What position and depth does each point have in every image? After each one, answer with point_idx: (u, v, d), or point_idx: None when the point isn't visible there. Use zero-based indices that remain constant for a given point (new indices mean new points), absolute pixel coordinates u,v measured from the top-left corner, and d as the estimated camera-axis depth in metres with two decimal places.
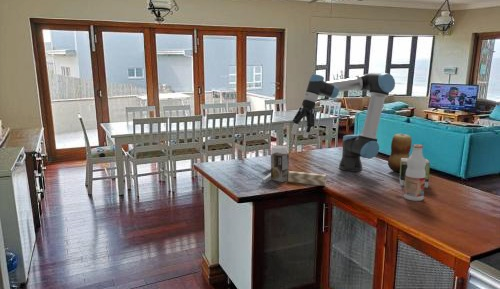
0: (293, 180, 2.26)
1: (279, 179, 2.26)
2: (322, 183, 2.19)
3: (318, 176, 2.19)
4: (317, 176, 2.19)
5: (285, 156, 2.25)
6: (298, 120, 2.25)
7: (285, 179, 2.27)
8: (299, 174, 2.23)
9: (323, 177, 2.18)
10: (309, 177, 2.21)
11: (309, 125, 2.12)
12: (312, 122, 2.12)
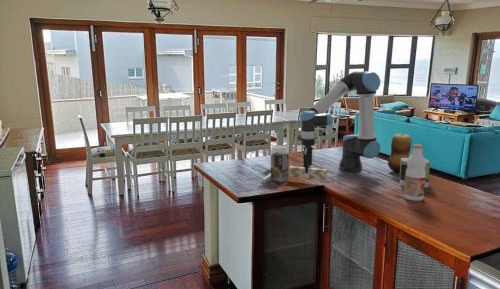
0: (294, 175, 2.25)
1: (279, 179, 2.26)
2: (323, 178, 2.19)
3: (319, 171, 2.19)
4: (318, 171, 2.19)
5: (285, 156, 2.25)
6: (308, 160, 2.23)
7: (285, 179, 2.27)
8: (300, 169, 2.23)
9: (324, 171, 2.18)
10: (310, 172, 2.21)
11: (305, 167, 2.20)
12: (305, 164, 2.17)
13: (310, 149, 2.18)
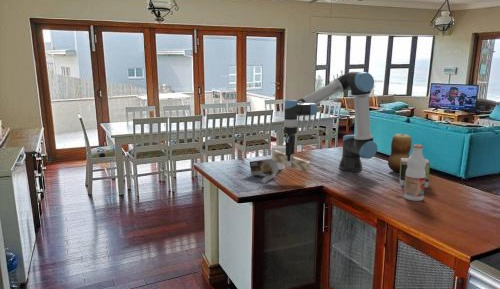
0: (277, 159, 2.27)
1: (270, 162, 2.30)
2: (304, 169, 2.22)
3: (302, 162, 2.21)
4: (301, 161, 2.22)
5: None
6: (291, 149, 2.26)
7: None
8: (284, 155, 2.25)
9: (306, 164, 2.21)
10: (293, 161, 2.23)
11: (287, 155, 2.22)
12: (287, 152, 2.20)
13: (292, 137, 2.21)
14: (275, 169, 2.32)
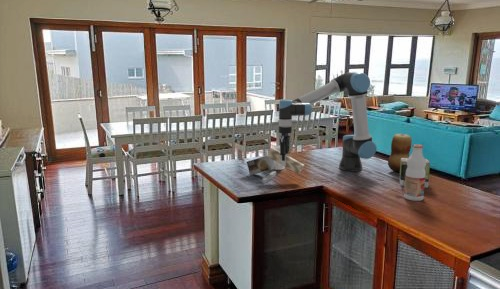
0: (272, 157, 2.28)
1: (266, 159, 2.31)
2: (297, 171, 2.23)
3: (296, 163, 2.23)
4: (295, 163, 2.23)
5: None
6: (285, 148, 2.27)
7: None
8: None
9: (301, 166, 2.22)
10: (288, 161, 2.24)
11: (281, 154, 2.23)
12: (282, 151, 2.21)
13: (287, 137, 2.22)
14: (272, 166, 2.32)
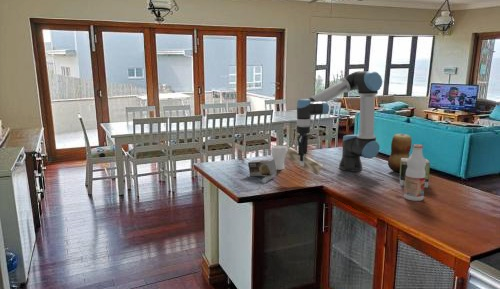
0: (290, 157, 2.24)
1: (268, 164, 2.30)
2: (316, 171, 2.19)
3: (315, 164, 2.19)
4: (314, 163, 2.19)
5: (251, 161, 2.39)
6: (303, 149, 2.23)
7: (270, 160, 2.32)
8: None
9: (319, 166, 2.18)
10: (306, 161, 2.21)
11: (300, 155, 2.19)
12: (300, 152, 2.17)
13: (305, 137, 2.18)
14: (273, 171, 2.32)
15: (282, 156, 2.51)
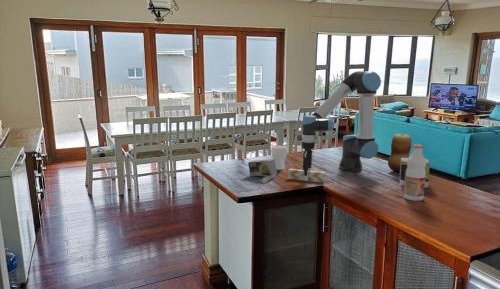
0: (293, 177, 2.31)
1: (268, 164, 2.30)
2: (321, 180, 2.25)
3: (317, 173, 2.25)
4: (316, 173, 2.25)
5: (251, 161, 2.40)
6: None
7: (270, 159, 2.32)
8: (299, 171, 2.29)
9: (322, 174, 2.24)
10: (309, 174, 2.27)
11: (304, 169, 2.25)
12: (304, 166, 2.23)
13: (310, 152, 2.24)
14: (273, 171, 2.32)
15: (282, 156, 2.51)
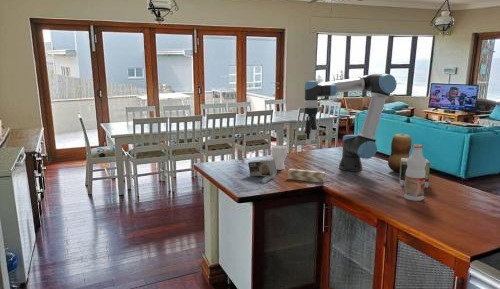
0: (293, 177, 2.31)
1: (268, 164, 2.30)
2: (321, 180, 2.25)
3: (317, 173, 2.25)
4: (316, 173, 2.25)
5: (251, 161, 2.40)
6: (312, 126, 2.33)
7: (270, 159, 2.32)
8: (299, 171, 2.29)
9: (322, 174, 2.24)
10: (309, 174, 2.27)
11: None
12: (307, 129, 2.19)
13: (313, 117, 2.24)
14: (273, 171, 2.32)
15: (282, 156, 2.51)
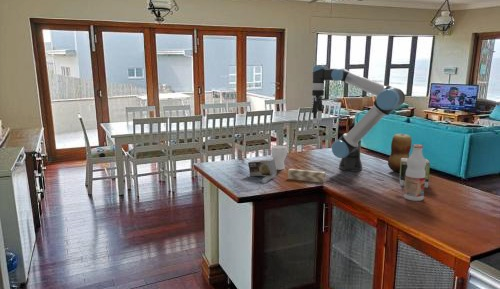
0: (293, 177, 2.31)
1: (268, 164, 2.30)
2: (321, 180, 2.25)
3: (317, 173, 2.25)
4: (316, 173, 2.25)
5: (251, 161, 2.40)
6: (319, 108, 2.55)
7: (270, 159, 2.32)
8: (299, 171, 2.29)
9: (322, 174, 2.24)
10: (309, 174, 2.27)
11: None
12: (314, 109, 2.42)
13: (320, 99, 2.47)
14: (273, 171, 2.32)
15: (282, 156, 2.51)
